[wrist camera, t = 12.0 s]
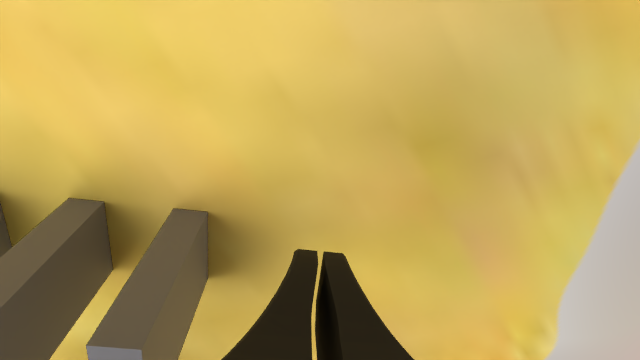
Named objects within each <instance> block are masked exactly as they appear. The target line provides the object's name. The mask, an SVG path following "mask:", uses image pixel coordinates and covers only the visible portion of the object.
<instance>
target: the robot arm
mask: <svg viewBox="0 0 640 360" xmlns="http://www.w3.org/2000/svg"><path fill="white" fill-rule="evenodd" d="M317 268H318V256H317V251H312V250H301V249H298V250H296V251H295V252H294V255H293V259H292V262H291V265H290V267H289V269H288V272H287V274H286V276H285V278H284V279H283V281H282V283H281V285H280V287H279V289H278V290H277V292H276V294H275V295H274V297H273V298H272V300H271V301H270V303H269V304H268V306H267V307H266V309H265V310H264V312H263V313H262V315H261V316H260V317H259V319H258V320H257V321H256V322H255V324H254V325H253V326H252V327H251V329H250V330H249V331H248V332H247V333H246V334H245V336H244V337H243V338H242V339H241V340H240V341H239V342H238V343H237V345H236V346H235V347H234V348H233V349H232V350H231V351H230V352H229V353H228V354H227V355H226V356H225V357H224V358H223V359H221V360H312V342H311V313H312V303H313V296H314V289H315V282H316V275H317ZM315 335H316V349H317V360H414V359H413V358H412V357H411V356H410V355H409V354H408V353H407V351H406V350H405V349H404V348H403V347H402V346H401V345H400V343H399V342H398V341H397V340H396V339H395V337H394V336H393V335H392V334H391V332H390V331H389V330H388V328H387V327H386V326H385V324H384V323H383V322H382V320H381V319H380V317H379V316H378V314H377V313H376V312H375V310H374V309H373V307H372V305H371V304H370V302H369V301H368V299H367V297H366V296H365V294H364V292H363V291H362V289H361V287H360V285H359V284H358V282H357V280H356V278H355V276H354V274H353V272H352V270H351V268H350V266H349V264H348V262H347V259H346V257H345V256H344V254H343V253H333V252H324V253H323V260H322V266H321V273H320V280H319V286H318V293H317V300H316V321H315Z"/></svg>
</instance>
